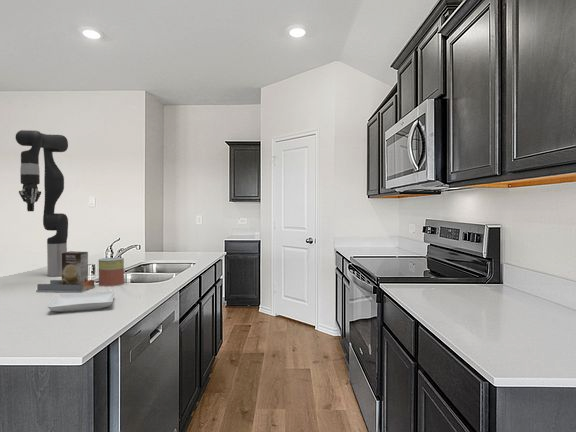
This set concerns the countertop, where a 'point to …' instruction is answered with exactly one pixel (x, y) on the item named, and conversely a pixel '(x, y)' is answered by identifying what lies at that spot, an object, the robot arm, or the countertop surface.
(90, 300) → the salad plate
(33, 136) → the robot arm
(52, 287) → the gray orange tray
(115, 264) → the canned food
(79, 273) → the coffee box
